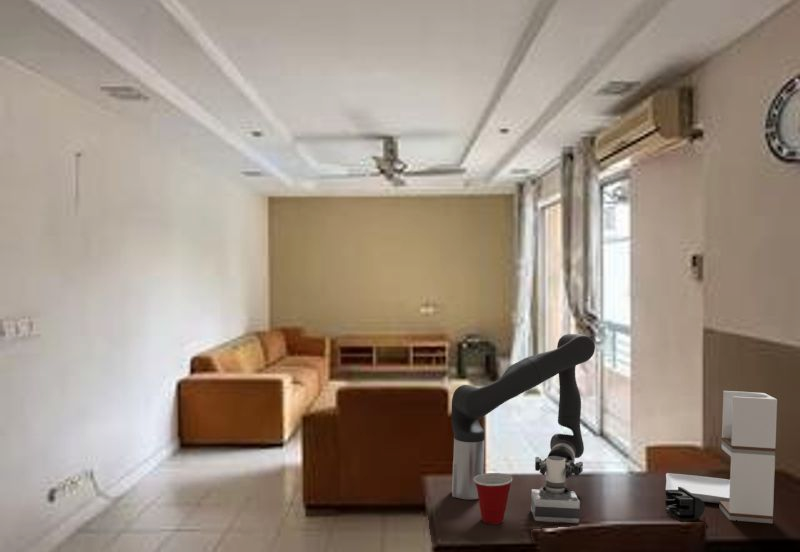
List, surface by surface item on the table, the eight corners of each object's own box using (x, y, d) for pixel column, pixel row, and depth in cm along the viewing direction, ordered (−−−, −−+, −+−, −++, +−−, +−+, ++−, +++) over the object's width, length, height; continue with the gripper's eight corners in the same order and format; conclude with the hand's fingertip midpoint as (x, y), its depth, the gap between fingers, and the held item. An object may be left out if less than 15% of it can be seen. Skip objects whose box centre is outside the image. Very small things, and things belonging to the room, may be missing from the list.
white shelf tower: (759, 510, 213) (764, 393, 213) (772, 523, 203) (777, 399, 202) (719, 507, 215) (723, 390, 214) (729, 519, 204) (734, 397, 204)
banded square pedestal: (534, 520, 199) (535, 493, 199) (530, 509, 208) (531, 483, 208) (579, 523, 198) (580, 496, 198) (573, 511, 207) (574, 486, 207)
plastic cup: (470, 512, 204) (471, 470, 204) (508, 514, 203) (510, 472, 203) (473, 526, 193) (474, 482, 193) (513, 528, 193) (515, 483, 192)
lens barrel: (546, 496, 201) (547, 459, 201) (544, 490, 206) (545, 455, 206) (566, 497, 200) (567, 460, 200) (562, 491, 206) (563, 455, 205)
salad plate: (665, 500, 222) (665, 489, 222) (665, 481, 242) (666, 471, 242) (741, 510, 214) (741, 498, 214) (735, 490, 234) (735, 479, 234)
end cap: (704, 521, 203) (705, 497, 203) (680, 521, 202) (681, 497, 202) (687, 509, 213) (688, 486, 213) (664, 509, 212) (665, 486, 212)
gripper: (537, 443, 219) (529, 456, 203) (586, 448, 214) (581, 462, 198) (536, 467, 219) (528, 483, 203) (585, 473, 214) (581, 489, 198)
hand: (554, 472), depth 201 cm, fingers open, 6 cm apart
